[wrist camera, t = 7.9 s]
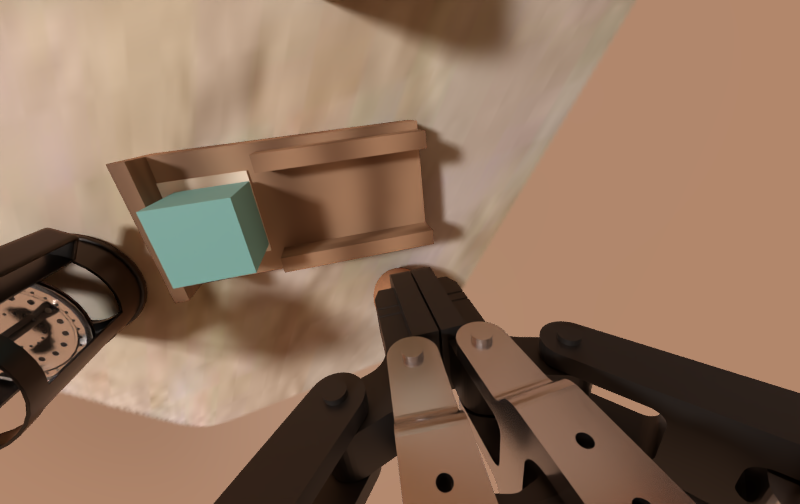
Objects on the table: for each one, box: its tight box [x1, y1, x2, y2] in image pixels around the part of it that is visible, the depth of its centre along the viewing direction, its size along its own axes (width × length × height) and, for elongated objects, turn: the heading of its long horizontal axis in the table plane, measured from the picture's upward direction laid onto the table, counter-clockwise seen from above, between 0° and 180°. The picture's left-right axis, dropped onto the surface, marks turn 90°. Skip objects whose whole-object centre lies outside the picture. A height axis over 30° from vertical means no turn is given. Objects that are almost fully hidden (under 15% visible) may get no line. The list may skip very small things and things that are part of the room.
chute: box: [106, 120, 434, 303], centre depth 25 cm, size 20×10×6 cm, turn 96°
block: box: [136, 181, 269, 289], centre depth 21 cm, size 5×5×5 cm
